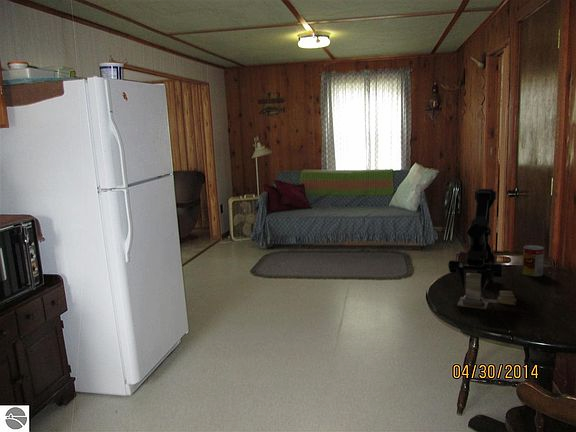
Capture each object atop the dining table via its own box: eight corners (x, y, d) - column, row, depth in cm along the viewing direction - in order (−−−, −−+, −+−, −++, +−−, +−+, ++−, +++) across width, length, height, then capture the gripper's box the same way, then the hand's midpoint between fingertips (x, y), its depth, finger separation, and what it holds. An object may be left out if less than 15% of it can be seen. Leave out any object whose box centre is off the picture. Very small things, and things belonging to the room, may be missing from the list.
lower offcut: (499, 297, 178) (499, 293, 178) (514, 298, 175) (514, 295, 175) (498, 302, 173) (498, 298, 172) (513, 304, 170) (513, 300, 170)
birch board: (466, 300, 176) (467, 272, 174) (480, 302, 174) (481, 273, 172) (465, 303, 174) (465, 275, 172) (479, 304, 172) (480, 276, 170)
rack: (462, 294, 185) (462, 288, 184) (516, 300, 176) (516, 294, 175) (456, 307, 172) (457, 301, 172) (514, 314, 163) (514, 307, 163)
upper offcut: (499, 294, 177) (499, 290, 177) (512, 294, 176) (512, 291, 175) (500, 299, 172) (501, 295, 172) (514, 299, 171) (514, 295, 170)
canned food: (529, 269, 211) (530, 244, 208) (546, 273, 204) (547, 247, 202) (518, 273, 207) (519, 247, 204) (536, 277, 200) (537, 250, 198)
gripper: (449, 239, 178) (444, 276, 170) (503, 242, 169) (499, 281, 161) (452, 254, 186) (447, 289, 178) (503, 258, 177) (500, 295, 170)
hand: (472, 288), depth 172 cm, fingers open, 6 cm apart
